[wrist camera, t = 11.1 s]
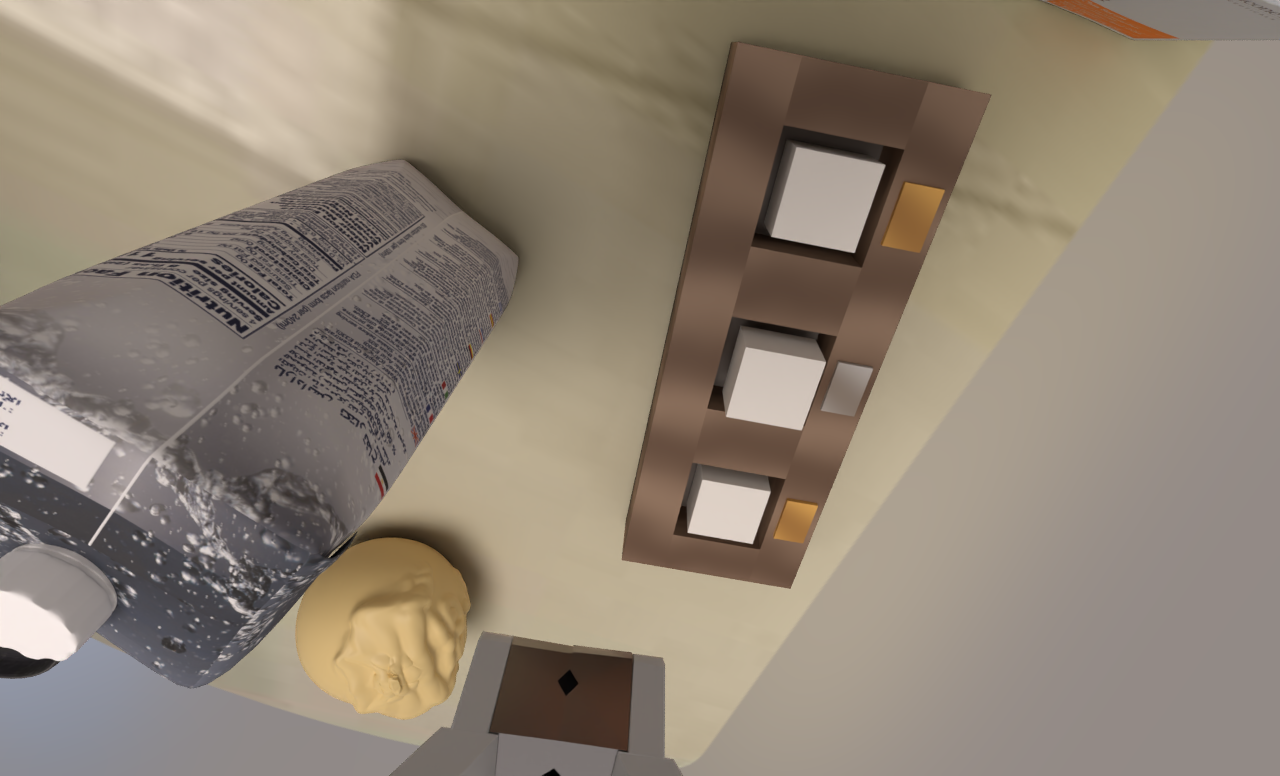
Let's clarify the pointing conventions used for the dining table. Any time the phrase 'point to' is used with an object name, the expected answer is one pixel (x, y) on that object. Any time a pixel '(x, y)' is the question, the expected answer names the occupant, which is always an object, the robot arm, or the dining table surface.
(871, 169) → the button
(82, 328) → the juice carton
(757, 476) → the button
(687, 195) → the dining table surface
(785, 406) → the button middle
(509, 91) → the dining table surface
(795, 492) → the button board
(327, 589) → the sculpture
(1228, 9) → the skincare box
